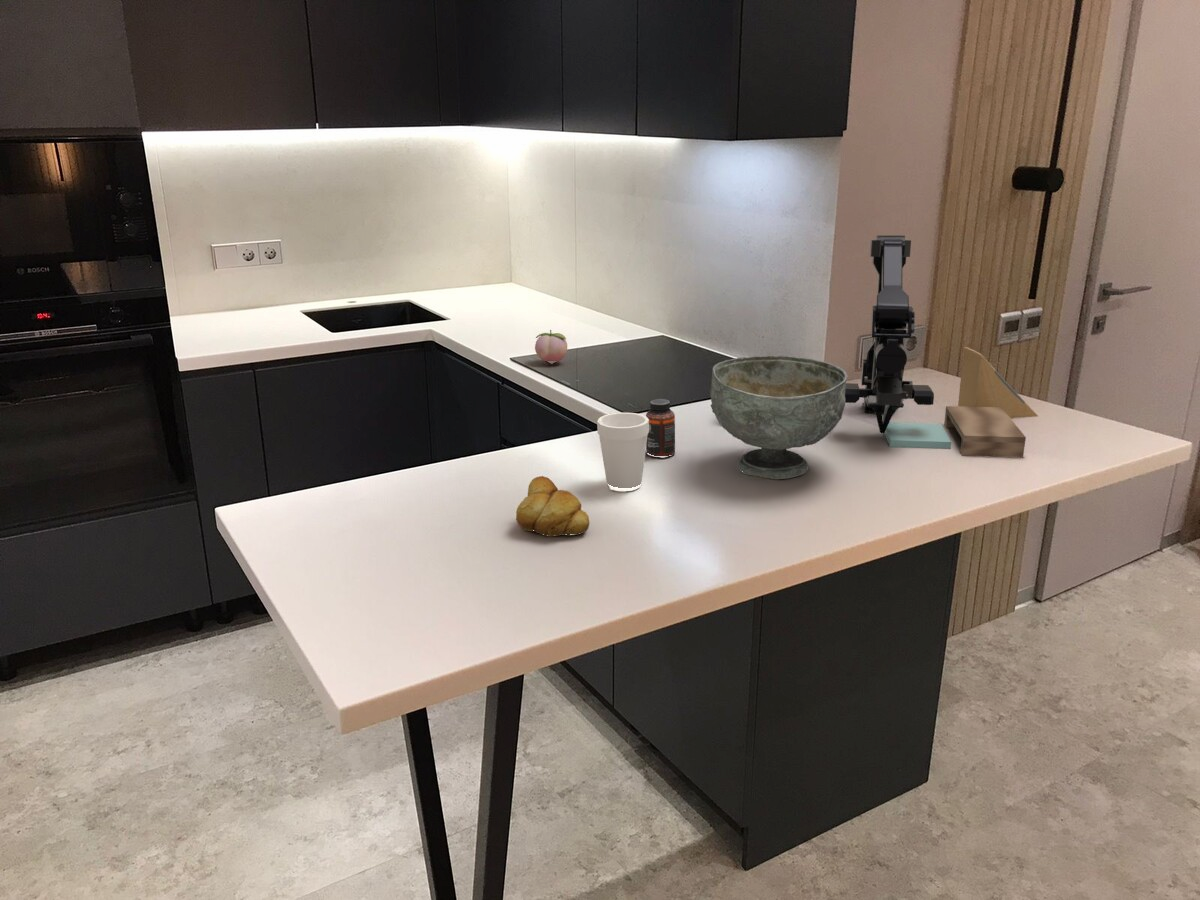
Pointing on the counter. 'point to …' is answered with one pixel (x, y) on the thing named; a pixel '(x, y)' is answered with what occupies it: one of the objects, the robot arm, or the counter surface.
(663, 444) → the supplement bottle
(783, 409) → the decorative bowl
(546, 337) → the decorative fruit
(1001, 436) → the low shelf
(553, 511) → the bread roll
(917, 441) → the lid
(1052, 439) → the counter surface
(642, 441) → the foam cup
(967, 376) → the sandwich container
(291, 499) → the counter surface
